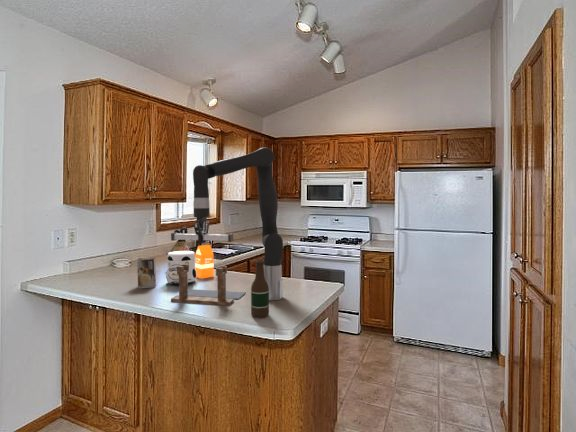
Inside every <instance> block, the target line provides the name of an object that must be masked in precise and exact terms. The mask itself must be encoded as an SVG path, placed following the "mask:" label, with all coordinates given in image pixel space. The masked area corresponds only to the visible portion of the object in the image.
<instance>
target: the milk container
mask: <svg viewBox="0 0 576 432" xmlns="http://www.w3.org/2000/svg"><path fill="white" fill-rule="evenodd" d="M195 254H196V252H195V251H191V250H190V251H174V252H171V251H169V252H167V257H166V258H167V270H166V273H165V274H166V275H165V276H166V282H167V283H168V284H171V285H175V286H177V285H178V286H179V274H177V266H182V264H189V271H188V272H187V285H188V284H193V283H194V282H195V281H197V278H198V277H197V272H196V267H195Z"/></svg>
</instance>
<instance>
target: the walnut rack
mask: <svg viewBox="0 0 576 432" xmlns="http://www.w3.org/2000/svg"><path fill="white" fill-rule="evenodd" d="M188 271H189V264H182V266H177V274H179V285H178V295H175V296H174V297H171V299H170V302H171V303H182V304H183V303H187V304H199V305H200V304H202V305H213V306H214V305H215V306H216V305H218V306H231V305H232V304H233V303H234V302H235V299H228V298H226V291H227V288H226V287H227V285H226V284H227V282H226V281H227V280H226V274H227V273H228V266H227V265H219V267H216V268H215V276H217V277H216V279H217V291H218V298H212V297H195V296H188V290H189V289H188V284H187V272H188Z"/></svg>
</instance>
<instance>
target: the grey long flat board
mask: <svg viewBox="0 0 576 432" xmlns="http://www.w3.org/2000/svg"><path fill="white" fill-rule="evenodd" d="M246 293H247V292H243V291H230V290H229V291H227V290H226V298H228V299H234V300H240V299H241V298H242V297H243V296H244V295H246ZM188 296H195V297H212V298H218V290H212V289H211V290H209V289H194V288H193V289H192V288H189V289H188Z"/></svg>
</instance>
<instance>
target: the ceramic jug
mask: <svg viewBox="0 0 576 432" xmlns="http://www.w3.org/2000/svg"><path fill="white" fill-rule="evenodd" d="M174 232H177V234H188V227H186V226H182V227H180V230H179V229H175V230H174V231H173V233H174ZM174 251H191V250H190V248H189V247H188V245H187V244H186V240H176V243H175V244H174V245H173V247H172V248H171V250H170V252H174Z"/></svg>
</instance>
